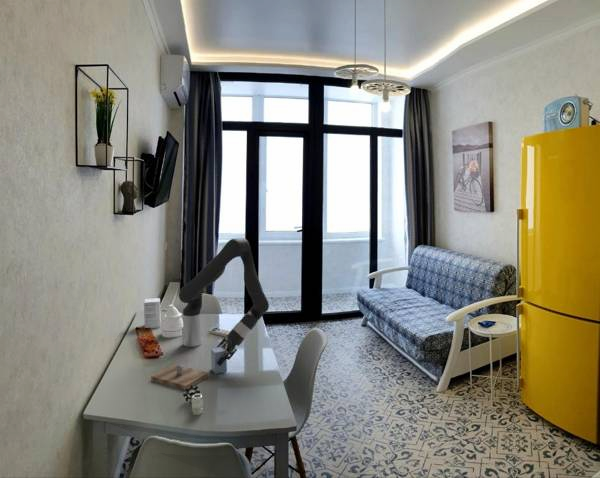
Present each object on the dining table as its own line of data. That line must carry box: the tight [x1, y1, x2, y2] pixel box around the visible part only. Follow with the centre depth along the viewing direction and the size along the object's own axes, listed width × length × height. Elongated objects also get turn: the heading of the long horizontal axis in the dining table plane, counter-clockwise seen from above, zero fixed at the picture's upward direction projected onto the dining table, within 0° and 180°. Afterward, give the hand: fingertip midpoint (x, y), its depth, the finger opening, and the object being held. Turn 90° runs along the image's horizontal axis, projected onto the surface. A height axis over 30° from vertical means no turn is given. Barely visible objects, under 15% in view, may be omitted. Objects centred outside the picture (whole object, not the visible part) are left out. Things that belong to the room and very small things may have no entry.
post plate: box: [150, 364, 209, 391], centre depth 174 cm, size 20×14×6 cm
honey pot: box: [161, 304, 183, 339], centre depth 232 cm, size 13×13×18 cm
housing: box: [210, 347, 228, 374], centre depth 182 cm, size 6×6×10 cm
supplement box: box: [143, 297, 162, 329], centre depth 246 cm, size 10×9×17 cm
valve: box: [182, 385, 204, 416], centre depth 150 cm, size 7×7×12 cm
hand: (215, 361), depth 182 cm, fingers open, 7 cm apart
